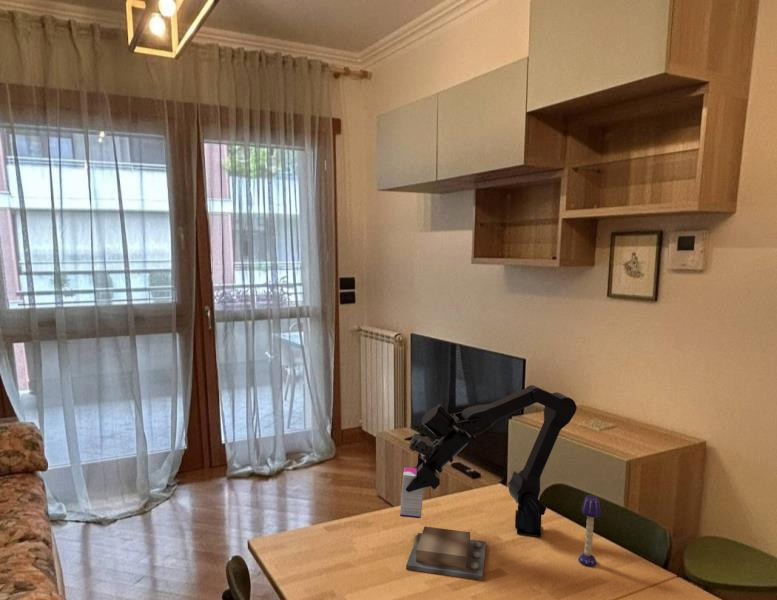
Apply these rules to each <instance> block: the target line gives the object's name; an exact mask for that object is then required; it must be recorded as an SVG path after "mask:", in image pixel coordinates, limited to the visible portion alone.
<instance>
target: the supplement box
mask: <svg viewBox="0 0 777 600" xmlns="http://www.w3.org/2000/svg"><path fill="white" fill-rule="evenodd" d="M416 470H417V469H415V467H404V469H403V475H402V484H401V485H402V487H401V488H402V489H401V496H400V497H401V499H400V509H399V510H400V511H399V517H402V518H413V519H421V518H422V511H423V499H424V488H421V489H418V490H414V491H411V492H407V491H406V488H407V486H408V485H409V484H410V482H411V481H412V480H413V478H414V477H415V476H416V474H417V472H416Z"/></svg>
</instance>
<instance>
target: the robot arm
mask: <svg viewBox="0 0 777 600" xmlns="http://www.w3.org/2000/svg"><path fill="white" fill-rule="evenodd" d="M534 404H539V405H542V406H544V408H543V423H542V425H541V427H540V430H539V432H538V435H537V437H536V440H535V442H534V444H533V446H532V449H531V451H530V452H529V453H530V454H529V456H528V458H527V460H526V462H525V465H524V467H523V469H521V471H519V472H517V471H516V470H515V471H513V472H512V476H511V479H510V481H508V483H507V484H508V485H509V486H508V493H509V495H510V496H511V498H513V499H514V501H515V503H516V504H517V509H515V515H514V516H515V517H514V518H515V519H514V524H515V525H514V529H515V530H516V534H517V535H524V536H530V537H531V536H532V537H542V536H543V534H542V516H543V515H545V513H546V510H547V506H545V504H544V503H543V502H541V500H540V499H539V496H540V492H541V477H542V474H543V472H544V470H545V467H546V465H547V463H548V461H549V458H550V455H551V454H552V451H553V449H554V446H555V445H556V441H557V439H558V437H559V435H560V433H561V430H562V429H564V428H565V427H566V426H568V424H569V423H570V422H571V420H572V419H573V417H574V416H575V414H576V413H577V408H578V407H577V404H576V402H575V400H574V399H573V398H571V397H569V396H567V395H565V394H563V393H561V392H558V391H557V392H553V393H551V392H549V391H547V390H544V389H542V388H540V387H538V386H537V385H535V384H530V385H528V386H526V388H524V389H521V390H519V391H516V392H513V393H512V394H509V395H506V396H504V397H503V398H500V399H498V400H496V401H493V402H491V403H487V404H476V405H474V406H473V405H472V406H469V407H466V408H464V409H463V410H461V411H459V412H455V413H451V414H450V413H449V412H447V411H446V409H445V408H444V407H443V406H442V404H441V403H438V404H437V405H436V406H434V407H432V408H430V409H429V410H427V412H426V413H424V414H423V417H422V419H421V424H422V425H424V426H425V428H426V429H428V430H429V431H430V432H431V433H432V434H433V435H434V436H436V437H437V438H440V437H441V438H440V439H437V438H436V439H435V440H434V441H432V440H430V439H428V438H426V437H425V436H422V435H420V434H418V433H414V434H413V436H412V438H411V440H410V442H409V445H408V449H410V450H411V451H413V452H416V453H417V463H416V465H415V467H414V468H415V469H417V470H416V472H417V474H416V476H415V477H414V478H413V480H412V481H411V482H410V484H409V485H408V486H407V488H406V491H407V492H411V491H414V490H418V489H421V488H423V489H424V488H429V487H431V488H432V489H433V490H436V489H437V488H438V487H439V486H440V485H441V483H440V482H441V481H440V480H441V477H440V474H441V473H442V472H443V468H444V467H445V466H446V465H448V464H449V463H452V462H453V461H455V460H454V459H455V457H456V456H457V455H458V454H459V452H461V451H462V450H463V449H464V448H465V447H467V446H468V445H469V446H470V447H471V448H472V449H476V439H477V438H476V436H475V435H480V434H482V433H484V432H485V431H487V430H488V429H489V428H491V427H492V426H494V424H495V422H497V421H498V420H500V419H502V418H504V417H507V416H509V415H511V414H513V413H516V412H517V411H520V410H522V409H525V408H527V407H529V406H532V405H534ZM467 431H468V432H469V433H468V432H467ZM470 433H471V434H470Z"/></svg>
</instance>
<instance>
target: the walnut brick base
mask: <svg viewBox="0 0 777 600" xmlns="http://www.w3.org/2000/svg"><path fill="white" fill-rule="evenodd" d="M486 549H487V541H483V540H479V539H478V540H477V539H471V532H470V531H465V530H455V529H448V528H442V527H441V528H438V527H432V526H424V527H423V529H422V532H418V533H417V535H416V538H415V540H414V544H413V546H412V548H411V550H410V554H409V556H408V559H407V562H406V564H405V569H406V570H411V571H418V572H424V573H430V574H431V573H432V574H437V575H442V576H443V575H444V576H445V575H446V576H449V577H451V576H452V577H458V578H466V579H473V580H477V581H478V580H479V581H482V580H483V577H484V576H483V575H484V566H485V559H486V551H487V550H486Z"/></svg>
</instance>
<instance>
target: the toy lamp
mask: <svg viewBox="0 0 777 600" xmlns="http://www.w3.org/2000/svg"><path fill="white" fill-rule="evenodd" d="M601 511H602V509H601V505H600V500H599V498H598V497H597V496H596V495H592V494H588V495H585V497H584V500H583V502H582V505H581V507H580V512H581V514H583V516H586V518H587V519H586V522H585V523H586V526H585V537H584V541H585V542H584V551H583V553H581V554H579V556H578V559H577V560H578V562H579V564H581V565H582V566H585V567H589V568H591V567H596V565H598V563H597V559H596V557H595V556H594V555H593V554H592V549H593V537H594V532H593V531H594V524H595V522H594V519H595V518H598V517H601V515H602V512H601Z"/></svg>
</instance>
